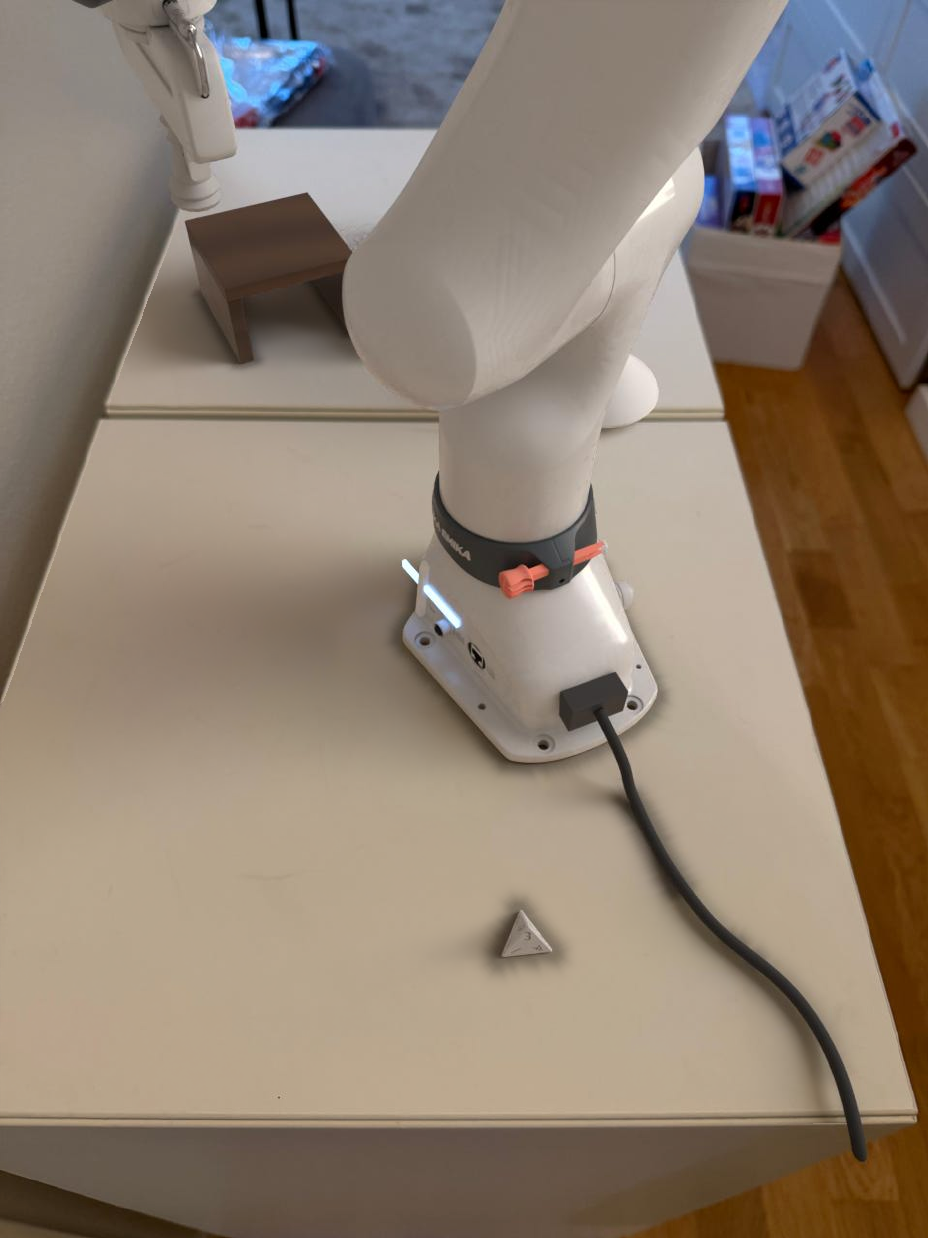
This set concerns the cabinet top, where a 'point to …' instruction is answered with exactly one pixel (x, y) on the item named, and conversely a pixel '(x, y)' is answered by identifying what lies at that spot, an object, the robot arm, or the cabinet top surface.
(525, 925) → the tetrahedral die
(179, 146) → the rook chess piece
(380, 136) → the cabinet top surface
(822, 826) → the cabinet top surface
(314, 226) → the shelf
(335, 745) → the cabinet top surface
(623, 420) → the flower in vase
